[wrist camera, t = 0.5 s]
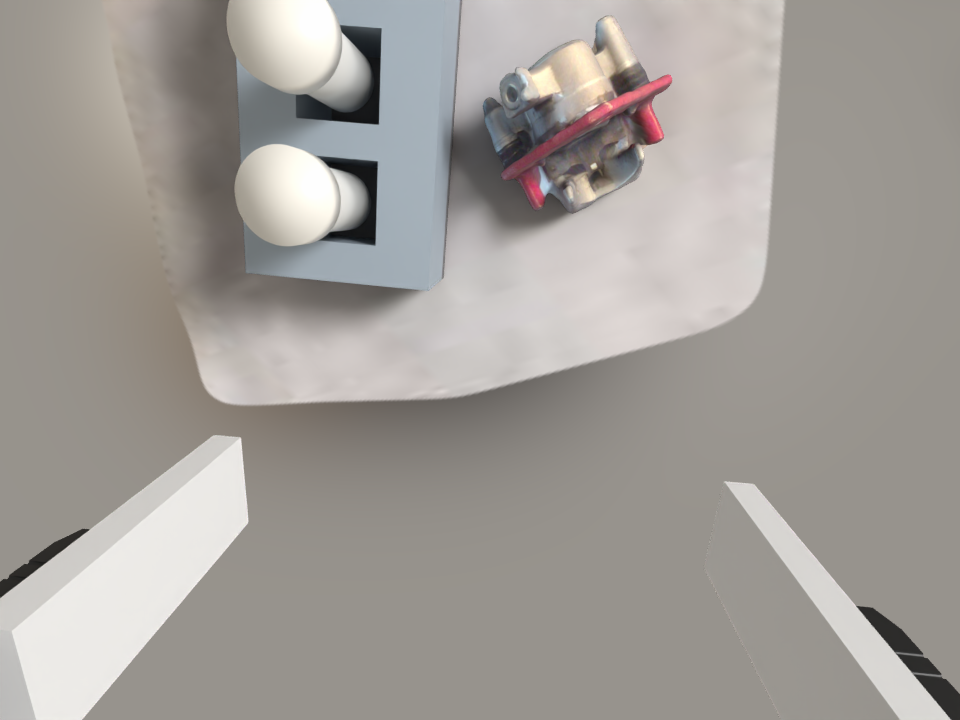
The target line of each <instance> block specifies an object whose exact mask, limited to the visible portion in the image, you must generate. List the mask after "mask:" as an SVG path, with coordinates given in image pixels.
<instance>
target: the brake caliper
mask: <svg viewBox="0 0 960 720" xmlns="http://www.w3.org/2000/svg"><path fill="white" fill-rule="evenodd" d="M671 83H672V77H671V75H665V76H663V77H661V78H659V79H657V80H655V81H652V82H649V80H648V77H647V75H646V72H645V70H644V69H643V67H642V66H641V64H640V63H639V61H638V59H637V58H636V56H635V54H634V52H633V50H632V48H631V46H630V44H629V42H628V41H627V39H626V38H625V36H624V34H623V32H622V30H621V28H620V27H619V24H618V22H617V21H616V19H615V18H614V17H613V16H612V15H608V16H605V17H603V18H601V19H600V20H598V22H597V24H596V38H595V41H594V46H593V48H592V49H591V48H590V46H589V44H588V43H587V42H586V41H584V40H572V41H570V42H567V43H565V44H563V45H561V46H559V47H557V48H555V49H554V50H552V51H550V52H548V53H547V54H546V55H545V56H543V57H542V58H541V59H540V60H539V61H537V62H536V63H535V64H534V65H533V66H532V67H530V68H529V69H528V70H527V69H526V68H522V67H517V68H516V69H515V73H509V74H507V75H506V76H505V77H504V78H503V79H502V80H501V82H500V95H501V100H502V104H503V106H501V105H500V104H499V103H498V102H497V101H496V100H494V99H493V98H487V99H486V100H485V101H484V103H483V110H484V115H485V124H486V127H487V129H488V131H489V133H490V135H491V138H492V141H493V145H494V148H495V150H496V152H497V154H498V156H499V157H500V159H501V161H502V163H503V165H504V168H505V170H504V171H503V172H502V173H501V178H502V179H503V180H511V179H513V178H514V179H516V180H517V181H518V182H519V184H520V185H521V187H522V188H523V190H524V192H525V194H526V197H527V199H528V201H529V203H530V204H531V206H532V208H533V209H534V210H540V209H541V208H543V206H544V203H545V198H546V195H547V193H551V194H553V195H554V196H555V197H556V198H558V199H559V200H560V201H561V202H562V204H563V205H564V207H565V208H566V209H567V210H568V212H570V213H576V212H578V211H580V210H582V209H584V208H586V207H588V206H589V205H591V204H592V203H593V202H595V201H596V200H597V199H599V198H600V197H602V196H604V195H606V194H608V193H610V192H613V191H615V190H618V189H620V188H622V187H624V186H625V185H627V184H629V183H631V182H633V181H635V180H636V179H637V178H638V177H639V175H640V173H641V169H642V166H643V163H644V152H643V148H645V147H646V146H647V145H651V144H655V143H658V142H660V141H661V140H662V139H663V138H664V134H663V131H662V129H661V126H660V124H659V122H658V120H657V118H656V116H655V114H654V111H653V109H652V101H653V99H654V97H655V95H657V94H659V93H661V92H663V91H664V90H666V89H667V88H668V87H669V86H670V84H671Z"/></svg>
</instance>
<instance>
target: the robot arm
mask: <svg viewBox="0 0 960 720" xmlns="http://www.w3.org/2000/svg"><path fill="white" fill-rule="evenodd" d="M247 524H248V513H247V500H246V489H245V478H244V467H243V456H242V445H241V438H240V437H230V436H219V435H214V436H212V437H211V438H210V439H208V440H207V441H206V442H204V443H203V444H202V445H200V446H199V447H198V448H196V449H195V450H194V451H193V452H191V453H190V454H189V455H187V456H186V457H185V458H183V459H182V460H181V461H179V462H178V463H177V464H176V465H174V466H173V467H172V468H170V469H169V470H168V471H166V472H165V473H164V474H162V475H161V476H160V477H158V478H157V479H156V480H155V481H153V482H152V483H151V484H149V485H148V486H147V487H145V488H144V489H143V490H141V491H140V492H139V493H137V494H136V495H135V496H134V497H132V498H131V499H130V500H128V501H127V502H126V503H124V504H123V505H122V506H121V507H119V508H118V509H116V510H115V511H114V512H113V513H111V514H110V515H109V516H107V517H106V518H105V519H104V520H102V521H101V522H99V523H98V524H97V525H95V526H94V527H93V528H92V529H90V530H89V529H81V530H79V531H77V532H75V533H73V534H71V535H69V536H67V537H65V538H63V539H61V540H58V541H56V542H54V543H53V544H51V545H50V546H49V547H47V548H46V549H44V550H43V551H42V552H40V553H39V554H38V555H36V556H35V557H33V558H32V559H31V560H30V561H29V563H28V564H24V565H23V566H21V567H20V568H18V569H17V570H16V571H14V572H13V573H12V574H10V575H9V578H8V579H3V580H2V581H1V582H0V720H82V719H83V718H84V717H85V715H86V714H87V713H88V712H89V711H90V709H91V708H92V707H93V706H94V705H95V704H96V702H97V701H98V700H99V699H100V698H101V696H102V695H103V694H104V693H105V692H106V691H107V689H108V688H109V687H110V686H111V685H112V683H113V682H114V681H115V680H116V679H117V678H118V676H119V675H120V674H121V673H122V672H123V670H124V669H125V668H126V667H127V665H129V663H130V662H131V661H132V660H133V659H134V657H135V656H136V655H137V654H138V653H139V652H140V650H141V649H142V648H143V647H144V646H145V644H146V643H147V642H148V641H149V640H150V638H151V637H152V636H153V635H154V633H156V631H157V630H158V629H159V628H160V627H161V625H162V624H163V623H164V622H165V621H166V620H167V618H168V617H169V616H170V615H171V614H172V612H173V611H174V610H175V609H176V608H177V607H178V605H179V604H180V603H181V602H182V601H183V599H184V598H185V597H186V596H187V595H188V594H189V592H190V591H191V590H192V589H193V588H194V586H195V585H196V584H197V583H198V582H199V580H200V579H201V578H202V577H203V576H204V575H205V573H206V572H207V571H208V570H209V569H210V567H211V566H212V565H213V564H214V563H215V561H216V560H217V559H218V558H219V557H220V556H221V554H222V553H223V552H224V551H225V550H226V549H227V547H228V546H229V545H230V544H231V543H232V541H233V540H234V539H235V538H236V537H237V535H238V534H239V533H240V532H241V531H242V529H243V528H244V527H245V526H246V525H247ZM704 569H705V571H706V573H707V575H708V577H709V579H710V581H711V583H712V585H713V587H714V589H715V591H716V593H717V595H718V597H719V599H720V601H721V603H722V605H723V607H724V609H725V611H726V613H727V615H728V617H729V619H730V620H731V623H732V625H733V627H734V629H735V631H736V633H737V635H738V636H739V638H740V640H741V642H742V644H743V646H744V648H745V650H746V652H747V654H748V656H749V658H750V660H751V662H752V664H753V666H754V668H755V670H756V672H757V674H758V676H759V678H760V680H761V682H762V684H763V686H764V688H765V690H766V692H767V694H768V696H769V698H770V700H771V702H772V703H773V705H774V707H775V709H776V711H777V713H778V715H779V717H780V719H781V720H960V694H959V693H958V692H957V691H956V690H955V688H954V687H953V686H952V685H951V684H950V683H949V682H948V681H947V680H946V679H943V678H942V676H941V673H940V672H939V671H938V670H937V668H936V667H935V666H934V665H933V664H932V663H931V662H930V661H929V659H928V658H924V657H923V653H922V652H921V651H920V649H919V648H918V647H917V646H916V645H915V644H914V643H913V642H912V641H911V639H910V638H909V637H908V636H907V635H906V634H905V633H904V632H903V631H902V629H900V628H899V627H897V626H896V625H895V624H893V623H892V622H891V621H890V620H888V619H887V618H886V617H884V616H883V615H882V614H880V613H879V612H878V611H876V610H875V609H873V608H870V607H860V606H855V605H854V603H853V602H852V601H851V600H850V599H849V597H848V596H847V595H846V594H845V593H844V591H843V590H842V589H841V588H840V587H839V585H838V584H837V583H836V582H835V581H834V579H833V578H832V577H831V576H830V575H829V573H828V572H827V571H826V570H825V569H824V567H823V566H822V565H821V564H820V563H819V561H818V560H817V559H816V558H815V557H814V556H813V554H812V553H811V552H810V551H809V550H808V548H807V547H806V546H805V545H804V544H803V542H802V541H801V540H800V539H799V538H798V536H797V535H796V534H795V533H794V532H793V530H792V529H791V528H790V527H789V526H788V525H787V523H786V522H785V521H784V520H783V518H782V517H781V516H780V515H779V514H778V512H777V511H776V510H775V509H774V508H773V506H772V505H771V504H770V503H769V502H768V501H767V499H766V498H765V497H764V496H763V495H762V494H761V492H760V491H759V490H758V489H757V487H756V486H755V485H754V484H747V483H736V482H725V481H724V484H723V488H722V492H721V496H720V501H719V505H718V509H717V513H716V518H715V522H714V526H713V531H712V535H711V539H710V543H709V548H708V552H707V556H706V560H705V564H704Z"/></svg>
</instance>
